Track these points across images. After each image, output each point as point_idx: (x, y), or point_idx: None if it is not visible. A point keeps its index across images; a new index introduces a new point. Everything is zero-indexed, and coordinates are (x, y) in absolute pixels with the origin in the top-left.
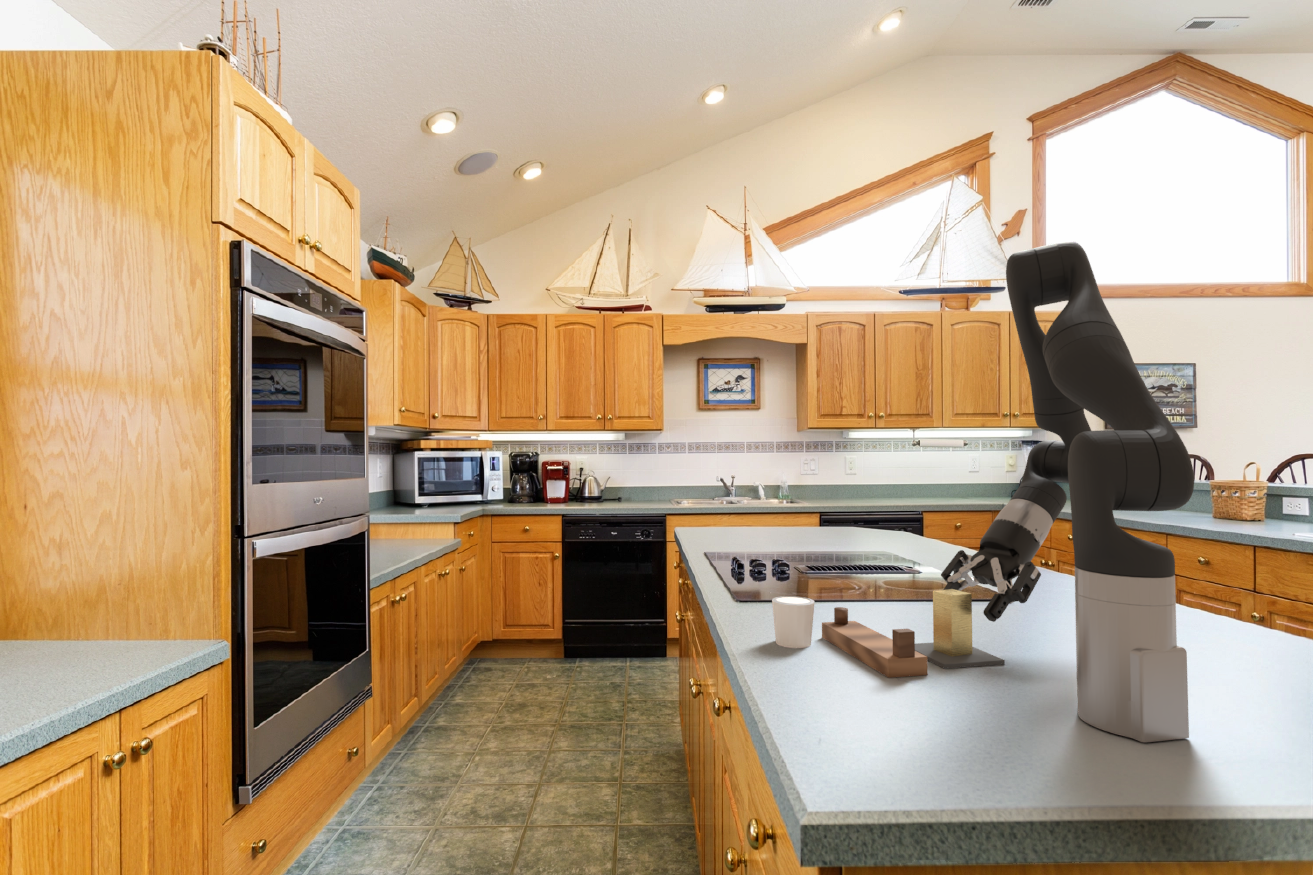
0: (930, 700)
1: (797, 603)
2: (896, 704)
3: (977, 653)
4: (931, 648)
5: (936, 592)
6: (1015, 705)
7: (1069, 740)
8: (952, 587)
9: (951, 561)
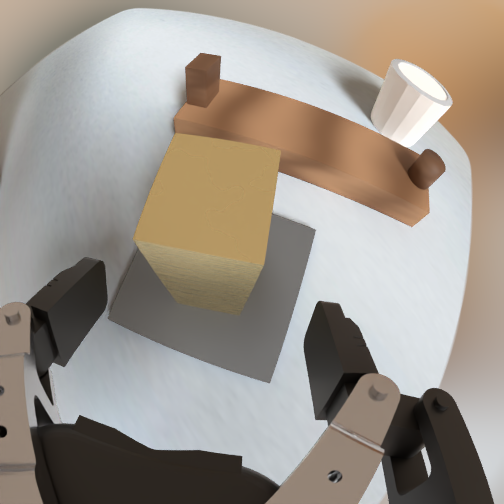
0: (130, 88)
1: (404, 69)
2: (153, 64)
3: (171, 315)
4: None
5: (259, 148)
6: (50, 148)
7: (13, 126)
8: (333, 367)
9: (482, 481)
